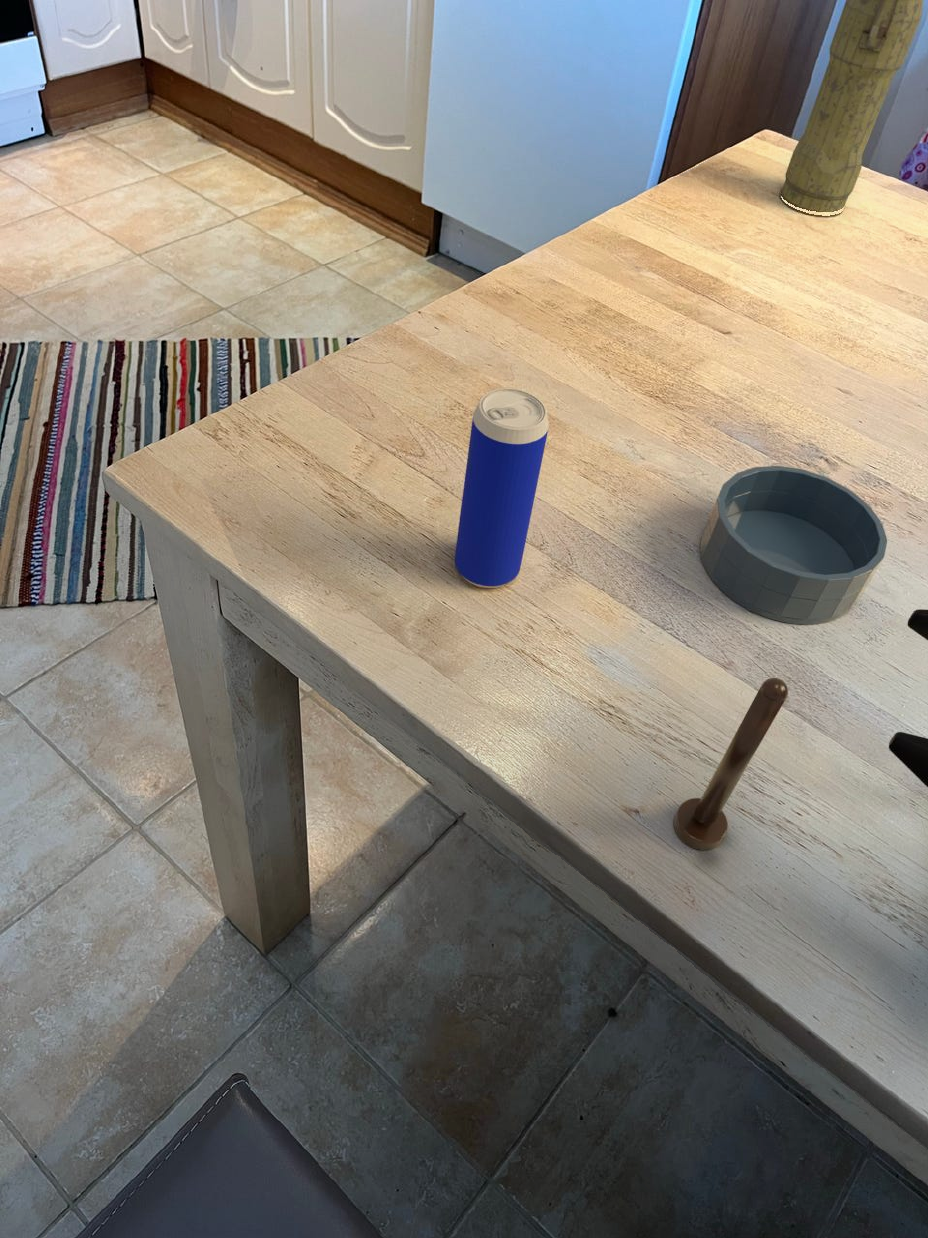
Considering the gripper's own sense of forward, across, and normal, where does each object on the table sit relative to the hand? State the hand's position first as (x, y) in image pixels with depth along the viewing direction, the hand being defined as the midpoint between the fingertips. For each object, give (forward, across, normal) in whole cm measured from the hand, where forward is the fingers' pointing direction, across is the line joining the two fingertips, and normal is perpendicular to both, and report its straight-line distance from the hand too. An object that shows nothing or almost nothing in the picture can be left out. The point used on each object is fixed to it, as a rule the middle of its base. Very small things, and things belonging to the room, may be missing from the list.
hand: (902, 674), depth 49 cm
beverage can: (+27, -12, +16) cm, 33 cm away
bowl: (+6, -24, +16) cm, 30 cm away
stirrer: (+6, +3, +16) cm, 17 cm away
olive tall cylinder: (+16, -99, +16) cm, 102 cm away
